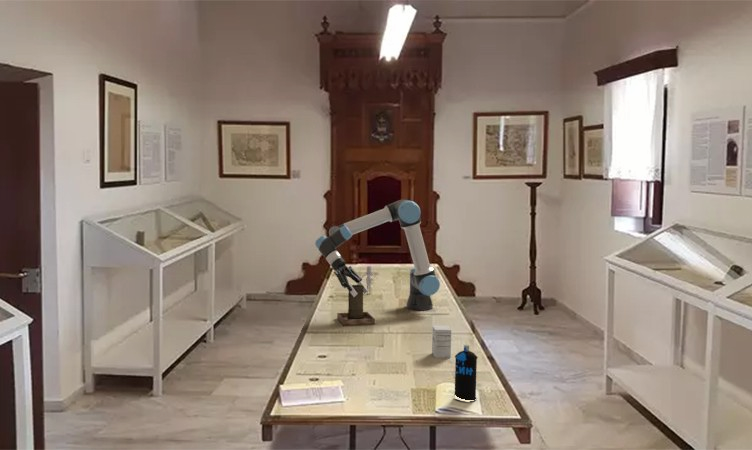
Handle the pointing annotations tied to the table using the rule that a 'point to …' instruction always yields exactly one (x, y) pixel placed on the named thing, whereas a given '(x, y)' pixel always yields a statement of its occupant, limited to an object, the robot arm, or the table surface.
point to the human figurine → (369, 278)
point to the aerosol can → (465, 374)
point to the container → (356, 303)
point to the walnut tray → (345, 322)
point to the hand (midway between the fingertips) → (361, 293)
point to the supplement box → (441, 342)
